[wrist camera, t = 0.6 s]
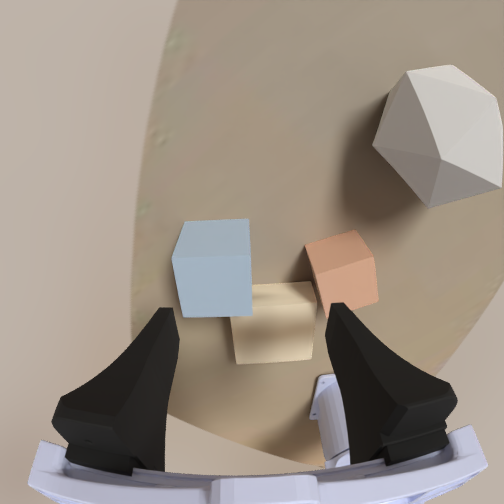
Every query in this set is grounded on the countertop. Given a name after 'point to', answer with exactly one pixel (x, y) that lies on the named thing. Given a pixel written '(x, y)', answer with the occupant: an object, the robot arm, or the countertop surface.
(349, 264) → the terracotta block
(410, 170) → the die
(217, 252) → the blue block
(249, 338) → the beech base
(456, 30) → the countertop surface
